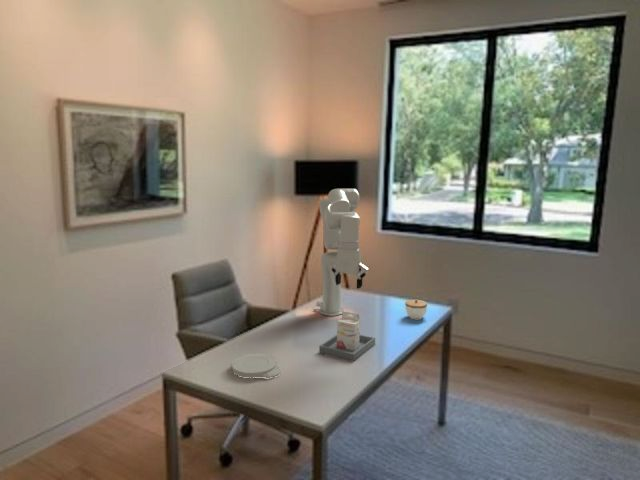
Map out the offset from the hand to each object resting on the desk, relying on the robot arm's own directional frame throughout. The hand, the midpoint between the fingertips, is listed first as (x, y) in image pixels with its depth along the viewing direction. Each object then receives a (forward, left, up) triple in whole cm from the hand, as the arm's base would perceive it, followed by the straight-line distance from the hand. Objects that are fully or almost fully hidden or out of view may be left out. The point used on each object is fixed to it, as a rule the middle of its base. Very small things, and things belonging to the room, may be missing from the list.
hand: (348, 285), depth 199 cm
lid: (-20, -36, -28) cm, 50 cm away
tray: (0, 0, -27) cm, 27 cm away
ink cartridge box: (0, 0, -27) cm, 27 cm away
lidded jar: (+11, +52, -28) cm, 60 cm away
